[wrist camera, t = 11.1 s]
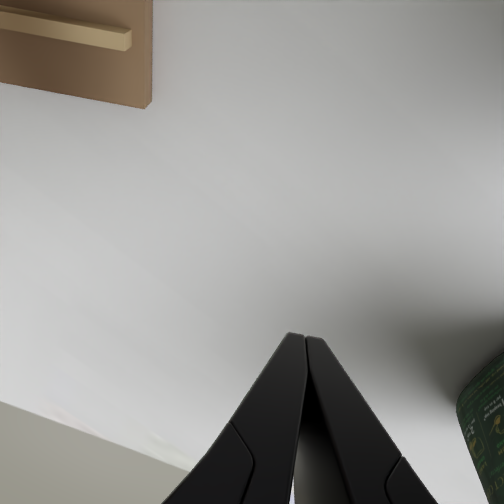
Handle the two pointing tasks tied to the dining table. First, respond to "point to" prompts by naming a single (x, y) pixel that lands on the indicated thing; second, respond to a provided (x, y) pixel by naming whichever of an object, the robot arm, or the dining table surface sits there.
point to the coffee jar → (485, 427)
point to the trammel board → (79, 48)
